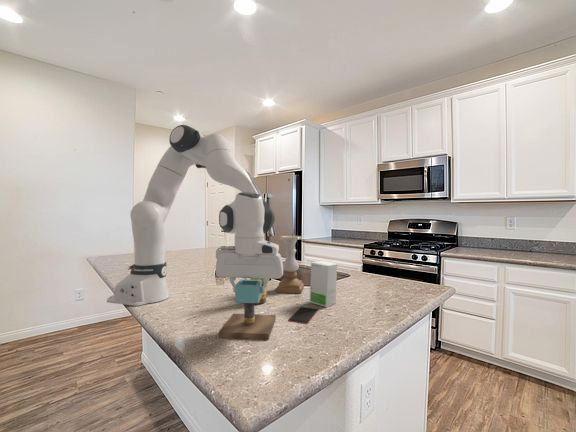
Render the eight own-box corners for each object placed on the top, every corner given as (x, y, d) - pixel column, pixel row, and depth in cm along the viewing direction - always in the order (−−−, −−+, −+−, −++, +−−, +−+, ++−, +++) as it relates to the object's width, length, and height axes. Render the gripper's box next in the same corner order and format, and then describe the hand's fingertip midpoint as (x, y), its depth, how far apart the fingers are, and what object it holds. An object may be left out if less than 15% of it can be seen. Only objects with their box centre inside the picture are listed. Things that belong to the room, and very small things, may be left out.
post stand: (218, 337, 78) (218, 308, 78) (233, 318, 92) (233, 293, 92) (268, 339, 77) (268, 310, 76) (275, 319, 91) (275, 295, 90)
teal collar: (235, 302, 80) (235, 285, 80) (240, 295, 87) (240, 279, 87) (258, 303, 80) (258, 285, 80) (261, 296, 86) (261, 280, 86)
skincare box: (309, 302, 107) (309, 262, 107) (319, 298, 112) (319, 260, 112) (327, 307, 102) (327, 265, 101) (337, 303, 107) (337, 262, 106)
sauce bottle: (263, 305, 104) (263, 252, 104) (247, 304, 106) (247, 251, 105) (268, 299, 111) (268, 249, 111) (253, 298, 112) (253, 249, 112)
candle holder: (304, 287, 130) (304, 235, 129) (301, 293, 119) (301, 237, 118) (280, 285, 132) (281, 235, 131) (275, 292, 121) (276, 237, 120)
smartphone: (319, 309, 100) (307, 323, 87) (319, 310, 100) (307, 325, 87) (300, 306, 103) (286, 320, 89) (300, 308, 103) (286, 322, 89)
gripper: (212, 247, 82) (212, 294, 82) (281, 248, 80) (281, 296, 80) (219, 244, 88) (219, 288, 88) (283, 245, 86) (283, 290, 86)
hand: (249, 292), depth 84 cm, fingers closed on teal collar, 7 cm apart
